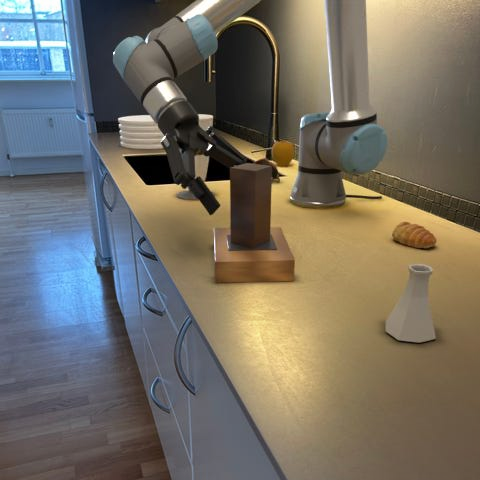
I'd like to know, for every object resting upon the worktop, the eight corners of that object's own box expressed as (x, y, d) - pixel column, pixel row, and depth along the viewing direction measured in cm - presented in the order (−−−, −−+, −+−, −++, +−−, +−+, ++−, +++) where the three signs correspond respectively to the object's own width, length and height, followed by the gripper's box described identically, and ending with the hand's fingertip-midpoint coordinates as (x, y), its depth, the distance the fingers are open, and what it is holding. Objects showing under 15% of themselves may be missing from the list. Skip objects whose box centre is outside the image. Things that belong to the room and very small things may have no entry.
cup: (201, 202, 142) (198, 119, 132) (168, 197, 147) (162, 116, 137) (222, 193, 151) (221, 115, 141) (190, 189, 156) (187, 113, 146)
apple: (272, 163, 195) (272, 138, 191) (294, 163, 194) (295, 139, 190) (270, 167, 188) (270, 142, 184) (293, 167, 187) (294, 142, 183)
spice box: (230, 242, 97) (229, 167, 91) (246, 235, 101) (247, 162, 95) (254, 248, 95) (255, 170, 88) (270, 240, 99) (272, 166, 92)
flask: (377, 321, 77) (385, 259, 73) (423, 319, 78) (435, 257, 73) (394, 345, 71) (404, 278, 66) (444, 343, 71) (458, 276, 67)
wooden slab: (279, 245, 109) (280, 225, 107) (293, 281, 91) (294, 259, 90) (214, 246, 109) (214, 227, 107) (215, 282, 91) (215, 260, 89)
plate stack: (111, 148, 229) (108, 120, 223) (133, 139, 253) (130, 114, 248) (171, 149, 224) (170, 121, 219) (188, 140, 249) (186, 115, 244)
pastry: (443, 246, 108) (446, 229, 106) (421, 252, 105) (424, 234, 103) (409, 235, 115) (411, 218, 113) (387, 240, 112) (389, 223, 110)
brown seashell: (282, 186, 162) (270, 164, 157) (255, 198, 165) (243, 177, 160) (282, 169, 170) (271, 148, 166) (257, 181, 174) (246, 160, 169)
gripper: (202, 121, 109) (260, 201, 108) (115, 134, 91) (184, 230, 90) (222, 95, 104) (283, 178, 103) (134, 102, 86) (207, 204, 85)
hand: (237, 202), depth 97 cm, fingers open, 13 cm apart
